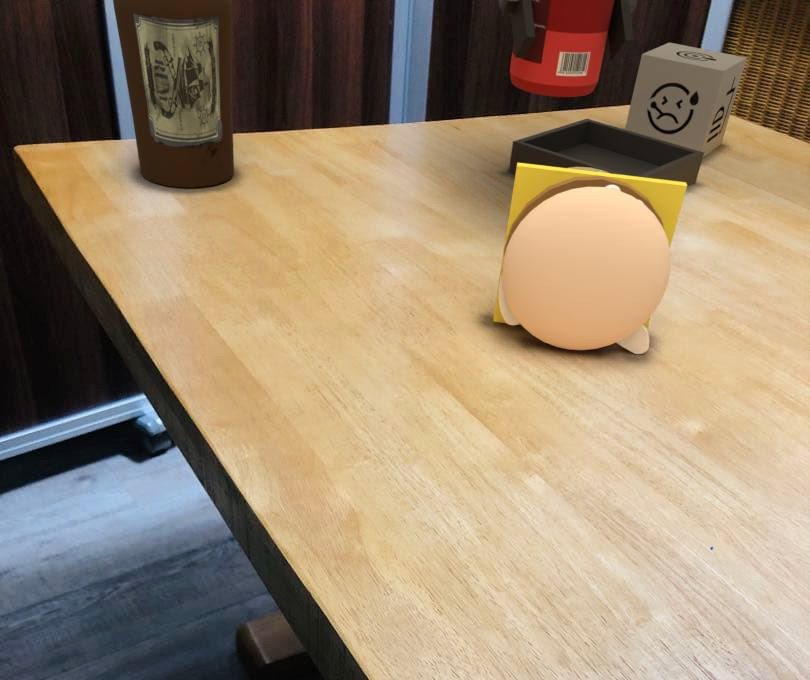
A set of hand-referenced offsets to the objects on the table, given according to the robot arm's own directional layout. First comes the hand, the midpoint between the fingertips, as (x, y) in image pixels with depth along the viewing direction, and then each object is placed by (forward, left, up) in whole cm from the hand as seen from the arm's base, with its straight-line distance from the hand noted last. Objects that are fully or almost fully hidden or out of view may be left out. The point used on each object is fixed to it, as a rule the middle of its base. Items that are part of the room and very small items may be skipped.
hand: (574, 48), depth 71 cm
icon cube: (+22, -37, -17) cm, 46 cm away
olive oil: (+28, +25, -17) cm, 41 cm away
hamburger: (-16, +9, -17) cm, 25 cm away
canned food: (+3, -1, -4) cm, 5 cm away
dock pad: (+14, -19, -16) cm, 29 cm away
